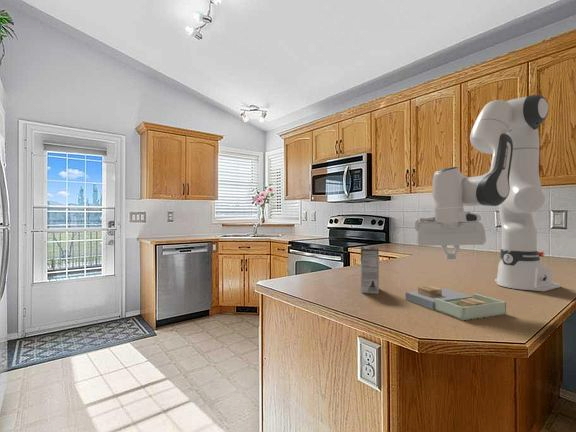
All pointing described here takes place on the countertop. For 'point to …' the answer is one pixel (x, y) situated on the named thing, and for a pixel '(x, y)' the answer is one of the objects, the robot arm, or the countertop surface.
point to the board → (429, 301)
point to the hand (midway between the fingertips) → (450, 258)
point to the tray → (471, 308)
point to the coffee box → (369, 270)
